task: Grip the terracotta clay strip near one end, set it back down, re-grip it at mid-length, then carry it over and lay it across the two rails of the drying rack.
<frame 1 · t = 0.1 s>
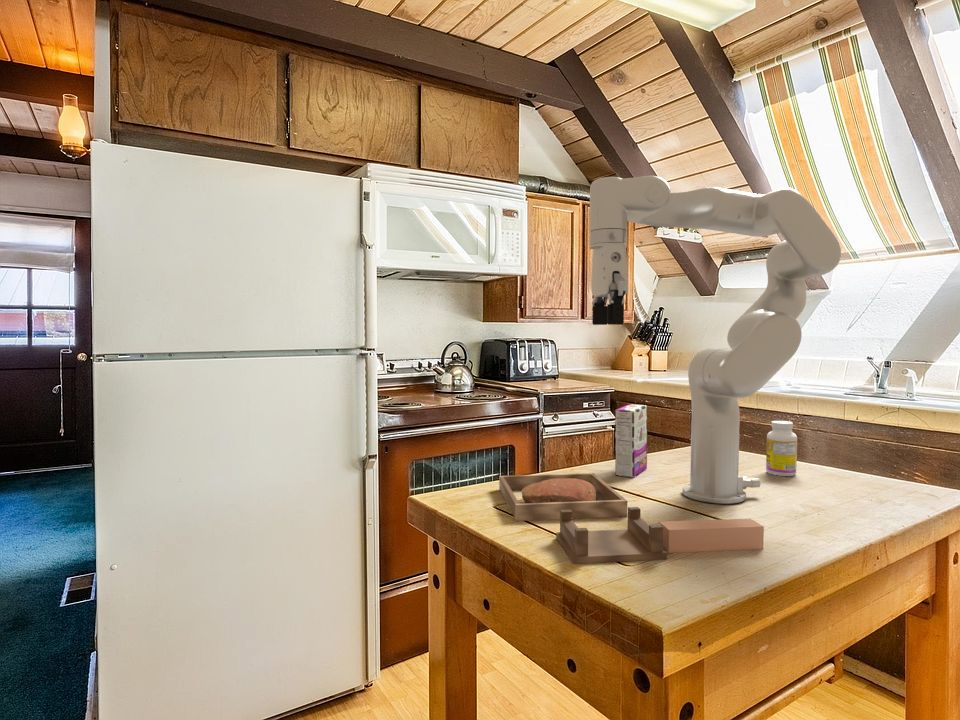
hand: (607, 324, 121), 37 cm above the table, tool pointing down, fingers open, 9 cm apart
clay strip: (710, 547, 97), on the table
supplement bottle: (780, 474, 144), on the table
rack: (608, 548, 96), on the table
low wooden frame: (558, 501, 122), on the table
candy bar box: (630, 473, 146), on the table
ceramic shard: (558, 504, 122), on the table
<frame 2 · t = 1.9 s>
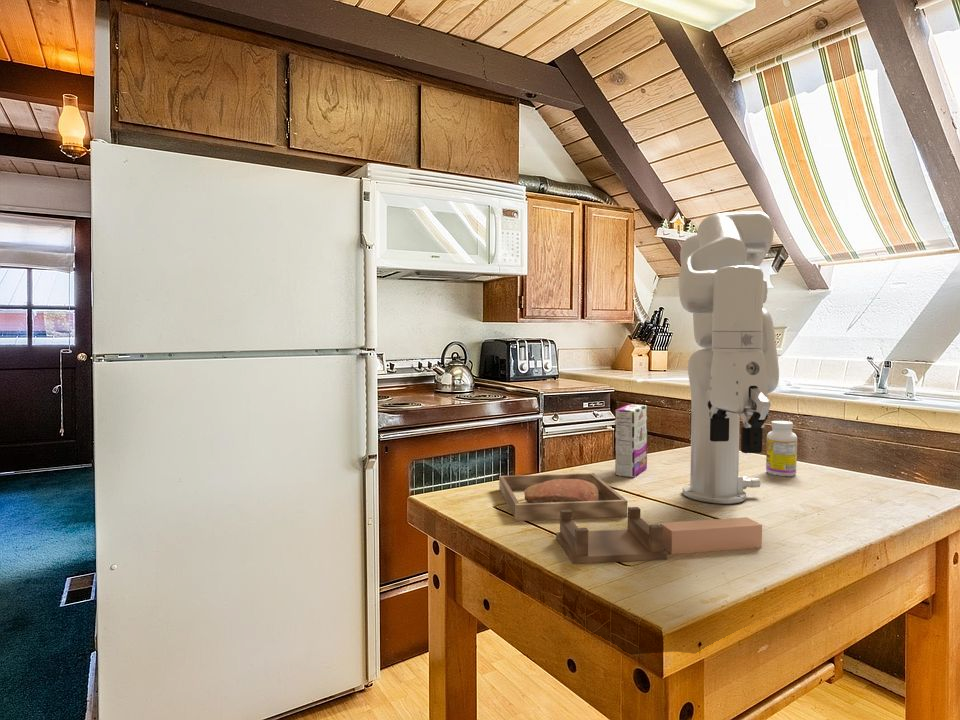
hand: (734, 446, 97), 16 cm above the table, tool pointing down, fingers open, 9 cm apart
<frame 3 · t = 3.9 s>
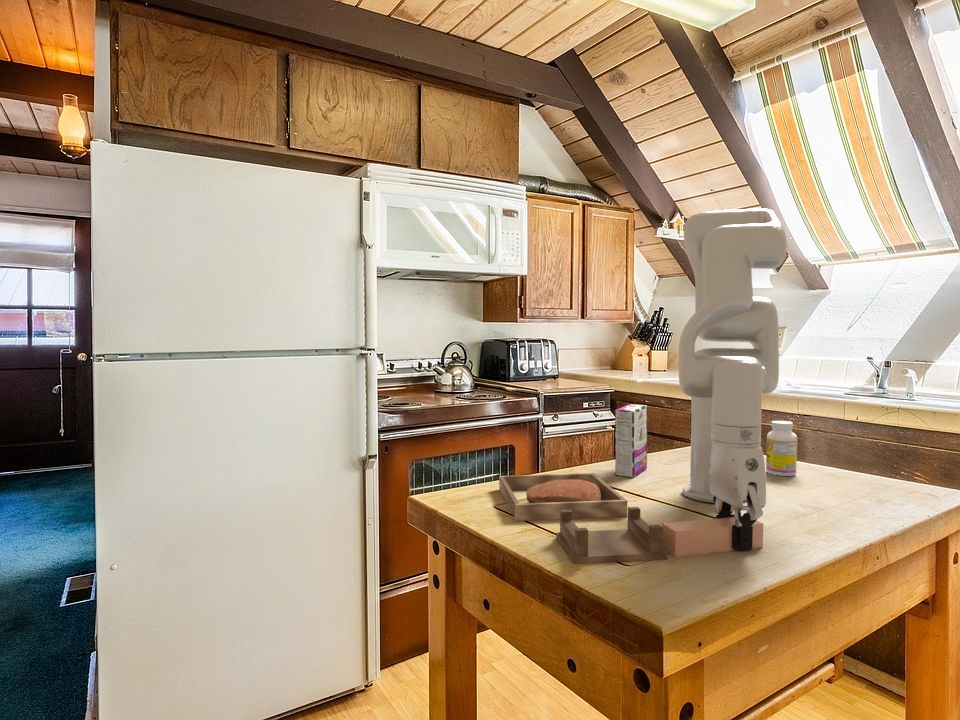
hand: (733, 542, 97), 0 cm above the table, tool pointing down, fingers closed on clay strip, 4 cm apart
clay strip: (712, 547, 97), on the table, touching gripper
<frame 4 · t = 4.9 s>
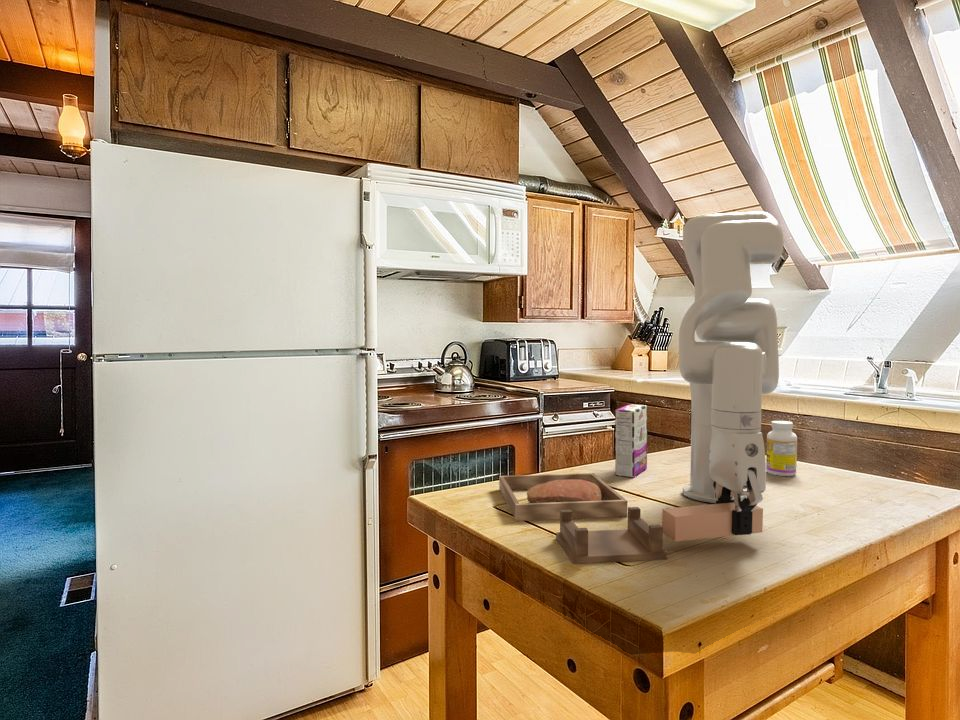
hand: (733, 527, 98), 3 cm above the table, tool pointing down, fingers closed on clay strip, 4 cm apart
clay strip: (712, 532, 97), point 2 cm above the table, touching gripper
when the fingers open (0 cm above the table, at t = 6.1 s): clay strip stays where it is, on the table.
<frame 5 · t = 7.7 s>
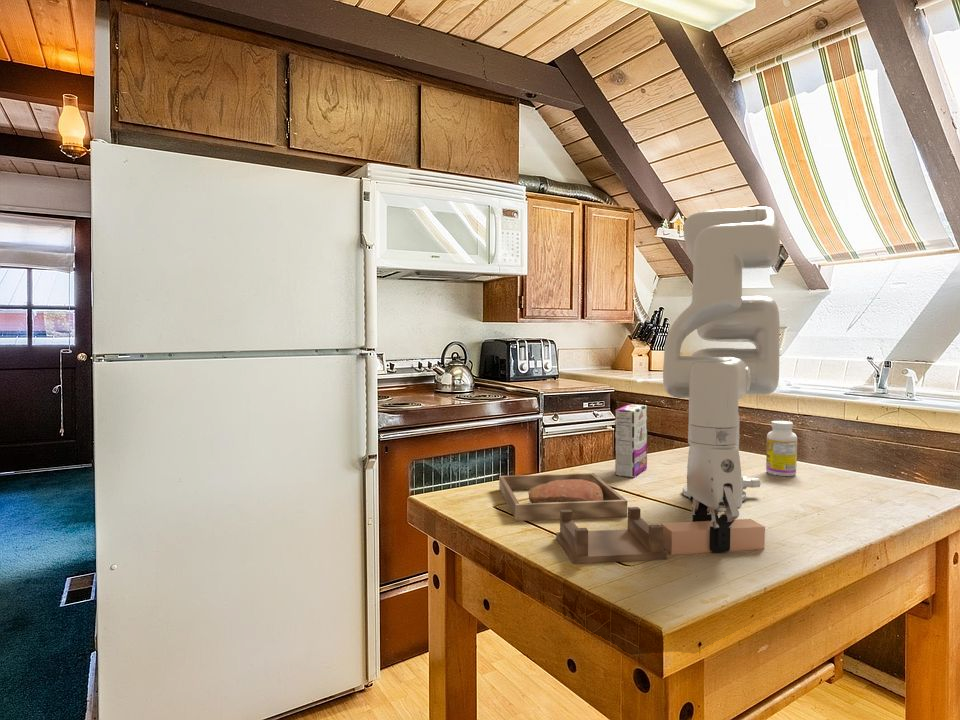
hand: (710, 543, 97), 0 cm above the table, tool pointing down, fingers open, 5 cm apart
clay strip: (711, 548, 97), on the table, touching gripper
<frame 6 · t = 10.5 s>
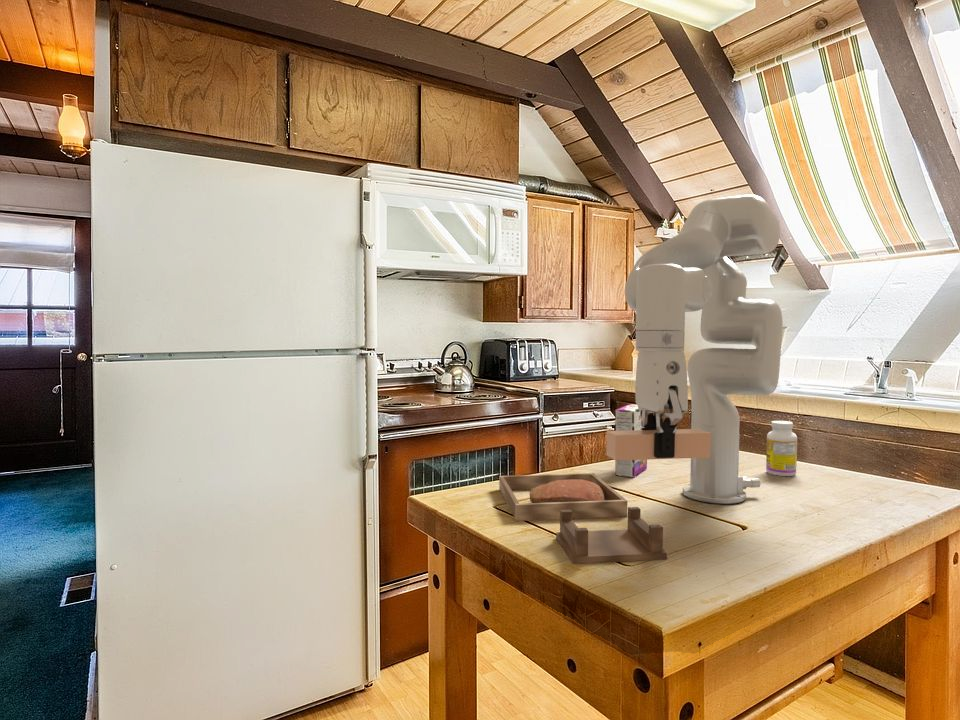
hand: (657, 453, 95), 16 cm above the table, tool pointing down, fingers closed on clay strip, 4 cm apart
clay strip: (657, 456, 95), point 15 cm above the table, touching gripper
when the fingers open (5 cm above the table, at t = 13.2 s): clay strip drops 1 cm, resting on rack.
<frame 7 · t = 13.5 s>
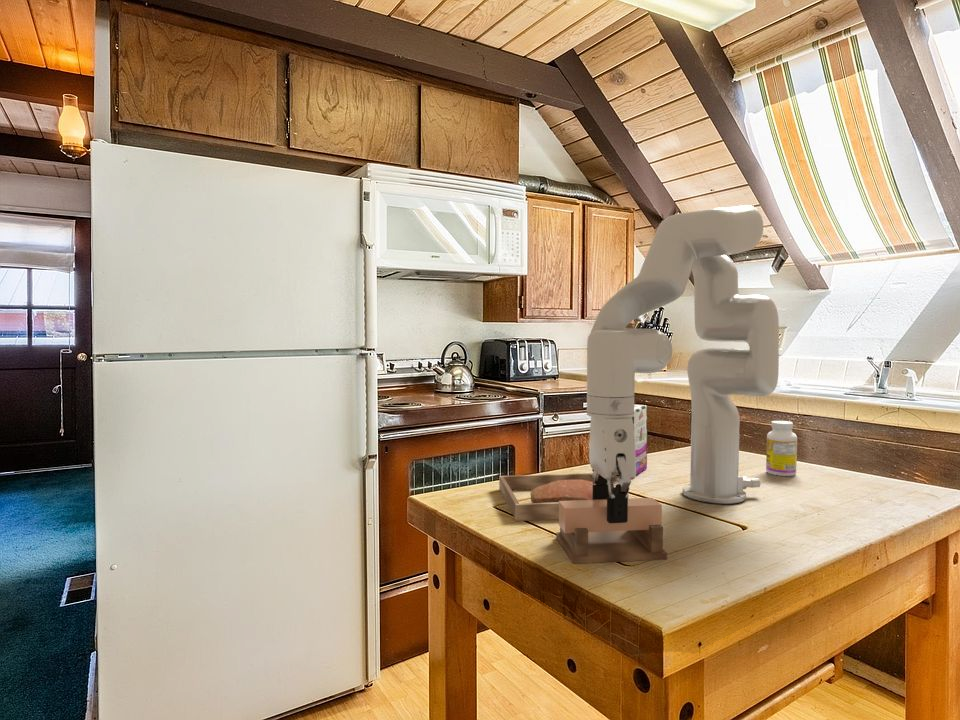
hand: (609, 513, 96), 6 cm above the table, tool pointing down, fingers open, 6 cm apart
clay strip: (609, 526, 96), point 3 cm above the table, touching rack
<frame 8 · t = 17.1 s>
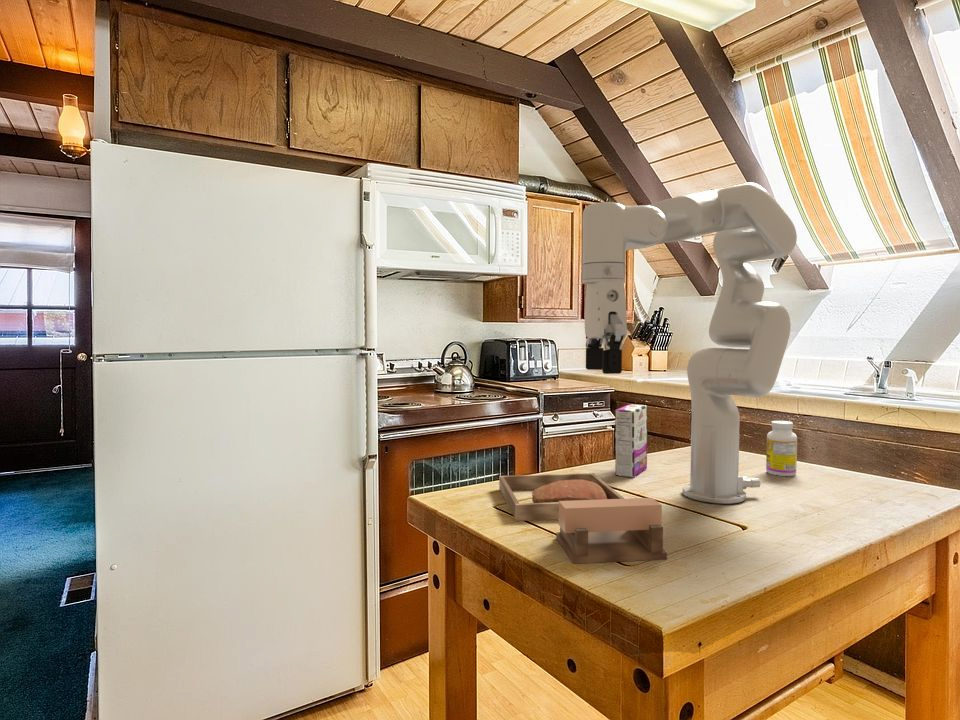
hand: (602, 371, 105), 28 cm above the table, tool pointing down, fingers open, 9 cm apart
at the end: clay strip 0.1 cm off-centre on the rack, point 3.5 cm above the rack's base; clay strip tilted 0°; the gripper is holding nothing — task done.
